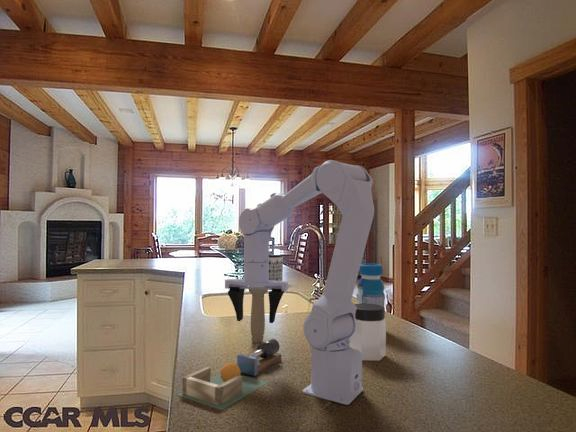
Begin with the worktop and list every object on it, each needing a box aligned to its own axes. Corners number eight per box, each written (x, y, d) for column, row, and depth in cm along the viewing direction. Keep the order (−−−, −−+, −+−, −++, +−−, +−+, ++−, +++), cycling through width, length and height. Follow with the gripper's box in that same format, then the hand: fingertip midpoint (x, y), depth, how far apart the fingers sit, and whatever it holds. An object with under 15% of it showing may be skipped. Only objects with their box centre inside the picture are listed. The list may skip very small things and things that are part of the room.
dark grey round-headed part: (265, 357, 93) (265, 337, 93) (281, 360, 91) (282, 340, 91) (237, 371, 84) (237, 349, 84) (254, 376, 82) (254, 353, 82)
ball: (244, 382, 79) (244, 362, 80) (231, 389, 76) (232, 368, 76) (229, 377, 82) (229, 358, 82) (216, 384, 78) (216, 364, 78)
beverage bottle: (373, 336, 114) (374, 266, 114) (350, 329, 120) (351, 264, 120) (390, 331, 119) (390, 265, 120) (367, 325, 126) (368, 262, 126)
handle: (260, 337, 111) (261, 284, 111) (270, 343, 106) (271, 287, 106) (244, 339, 109) (245, 285, 109) (253, 346, 103) (254, 288, 104)
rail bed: (281, 360, 93) (281, 353, 93) (254, 375, 84) (254, 367, 84) (271, 358, 94) (272, 351, 94) (245, 372, 85) (245, 365, 85)
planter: (272, 286, 198) (272, 258, 199) (246, 283, 206) (246, 256, 207) (288, 282, 212) (288, 256, 212) (263, 280, 220) (263, 254, 220)
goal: (242, 392, 75) (242, 376, 75) (219, 405, 69) (219, 388, 69) (206, 381, 79) (206, 366, 79) (182, 393, 74) (182, 377, 74)
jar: (381, 350, 101) (382, 303, 102) (389, 361, 93) (390, 310, 93) (346, 349, 101) (347, 302, 102) (351, 360, 93) (352, 309, 94)
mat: (267, 383, 80) (267, 382, 80) (222, 411, 68) (222, 410, 68) (225, 372, 85) (225, 370, 85) (176, 396, 73) (176, 394, 73)
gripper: (290, 260, 93) (290, 318, 93) (232, 259, 96) (232, 315, 96) (284, 263, 86) (283, 326, 86) (221, 261, 89) (221, 322, 89)
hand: (255, 321), depth 90 cm, fingers open, 7 cm apart
